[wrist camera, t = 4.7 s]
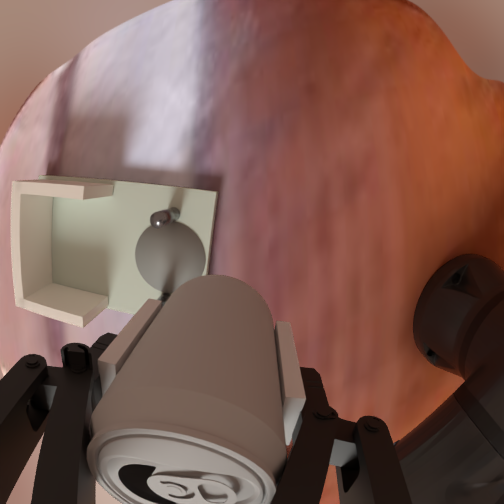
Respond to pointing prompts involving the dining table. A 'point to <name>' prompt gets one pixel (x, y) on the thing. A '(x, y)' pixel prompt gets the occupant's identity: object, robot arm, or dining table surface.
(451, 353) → the robot arm
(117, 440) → the beverage can
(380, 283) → the dining table surface
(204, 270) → the board
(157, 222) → the pins
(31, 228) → the housing
